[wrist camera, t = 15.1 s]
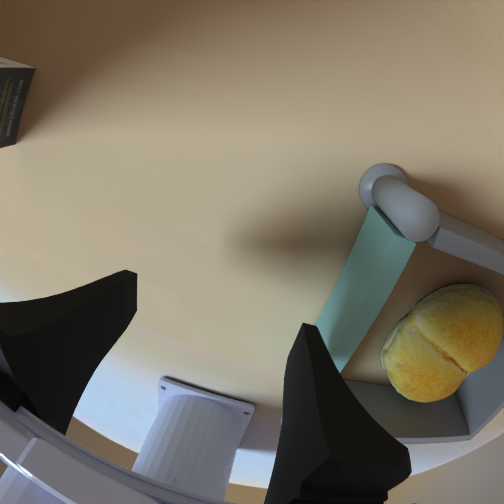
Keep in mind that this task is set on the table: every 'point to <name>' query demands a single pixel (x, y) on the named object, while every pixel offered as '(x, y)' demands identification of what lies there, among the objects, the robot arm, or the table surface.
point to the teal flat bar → (375, 264)
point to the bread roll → (443, 342)
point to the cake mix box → (12, 97)
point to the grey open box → (477, 383)
